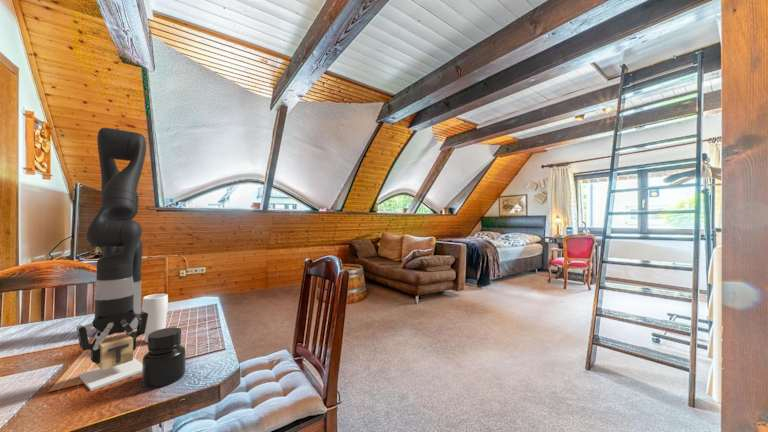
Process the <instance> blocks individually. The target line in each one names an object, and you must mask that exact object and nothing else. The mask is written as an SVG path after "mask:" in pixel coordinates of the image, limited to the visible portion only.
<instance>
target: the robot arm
mask: <svg viewBox="0 0 768 432" xmlns="http://www.w3.org/2000/svg"><path fill="white" fill-rule="evenodd" d="M96 139H97V153H98V160H99V167H100V168H99V169H100V175H101V177H100V179H101V181H100V182H101V184H100V185H101V189H100V190H101V192H100V194H101V200H100V201H101V202H100V207H99V209H98V211H97V213H96V215H95V217H94V218H93V219H92V221H91V223H89V226H88V228H87V230H86V235H85V236H86V240H87V242H88V243H89V244H90V245H91V246H92V247H96V248H102V249H101V250H102V252H101V253H102V256H101V257H100V258H98V260H97V261H96V281H95V283H96V284H95V286H94V287H95V288H94V317H93V318H94V319H93V320H92V321H91V322H90V323H87V324H85V325H82V324H81V325H78V326H77V327H76V334H77V338H78V343H79V347H80V349H82V351H84V352H85V351H90V361H91V363H93V364H95V365H96V364H99V363H100V349H99V347H100V345H101V344H102V342H103V341H104V340H105V338H107V336H112V335H113V334H116V333H122V332H124V333H126V334H127V335H129V336H130V337H132V338H133V351H135V350H136V349H137V339H138V338H139V336H141V335H145V329H146V323H147V318H148V313H146V312H144V311H142V259H143V242H142V240H141V236H142V234H143V229H142V226H141V224H140V223H139V222H137V221H136V220H133V219H135V218H136V216H137V214H138V212H139V194H138V192H137V190H138V185H139V182H140V179H141V175H142V171H143V167H144V163H145V160H146V155H147V154H146V153H147V141H146V138H145V136H144V135H143V134H142V133H138V132H136V131H135V132H134V131H128V130H124V129H123V130H122V129H118V128H109V127H101V128H100V129H99V130H98V132H97V138H96ZM115 160H119V161H127V162H129V163H128V165H127V166H125V167H124V168H123V169H121V171H120V170H119V167H118V166H117V164H116V161H115ZM92 328H94V329H96V330H97V331H96V333H95V335H94V338H93V340H92V342H91V343H90V342H89V337H88V334H90V333H91V329H92ZM135 329H136V330H135Z"/></svg>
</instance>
